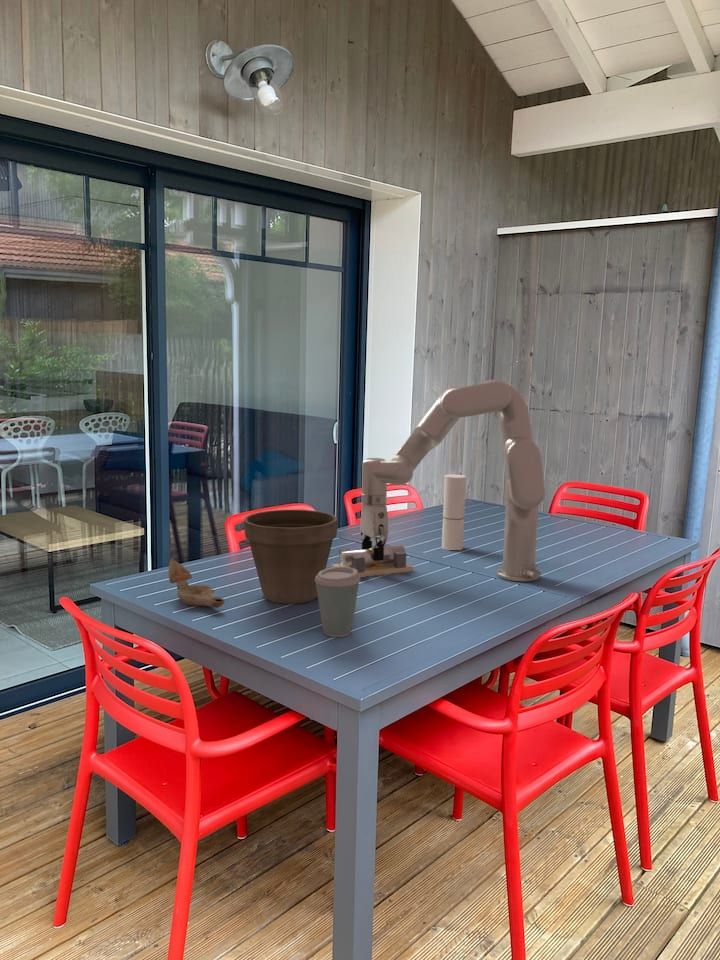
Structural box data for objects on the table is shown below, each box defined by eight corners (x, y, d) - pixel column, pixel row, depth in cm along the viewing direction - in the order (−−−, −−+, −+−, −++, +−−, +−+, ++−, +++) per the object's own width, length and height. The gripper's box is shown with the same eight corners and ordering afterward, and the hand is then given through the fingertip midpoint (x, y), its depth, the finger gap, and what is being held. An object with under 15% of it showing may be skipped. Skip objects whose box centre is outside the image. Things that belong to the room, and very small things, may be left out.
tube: (397, 559, 241) (397, 543, 240) (405, 563, 236) (405, 546, 235) (339, 566, 232) (339, 550, 231) (346, 571, 227) (346, 553, 226)
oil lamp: (185, 591, 210) (184, 555, 209) (235, 609, 196) (235, 571, 195) (158, 598, 204) (157, 561, 202) (208, 617, 190) (208, 578, 188)
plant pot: (235, 586, 215) (235, 510, 212) (319, 579, 224) (320, 506, 220) (255, 615, 192) (255, 530, 188) (348, 606, 201) (350, 524, 197)
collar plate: (412, 571, 234) (413, 552, 233) (347, 579, 224) (347, 559, 223) (394, 562, 244) (395, 543, 243) (331, 569, 234) (331, 550, 234)
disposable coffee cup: (330, 644, 174) (331, 580, 172) (305, 630, 183) (305, 568, 180) (368, 635, 180) (369, 572, 178) (342, 621, 189) (343, 562, 186)
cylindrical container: (462, 546, 267) (465, 474, 263) (463, 551, 260) (466, 478, 256) (441, 545, 267) (444, 473, 263) (441, 550, 260) (444, 477, 256)
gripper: (399, 503, 225) (397, 563, 228) (371, 493, 240) (370, 549, 243) (376, 505, 221) (374, 565, 224) (350, 495, 237) (348, 551, 240)
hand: (372, 556), depth 234 cm, fingers open, 7 cm apart
